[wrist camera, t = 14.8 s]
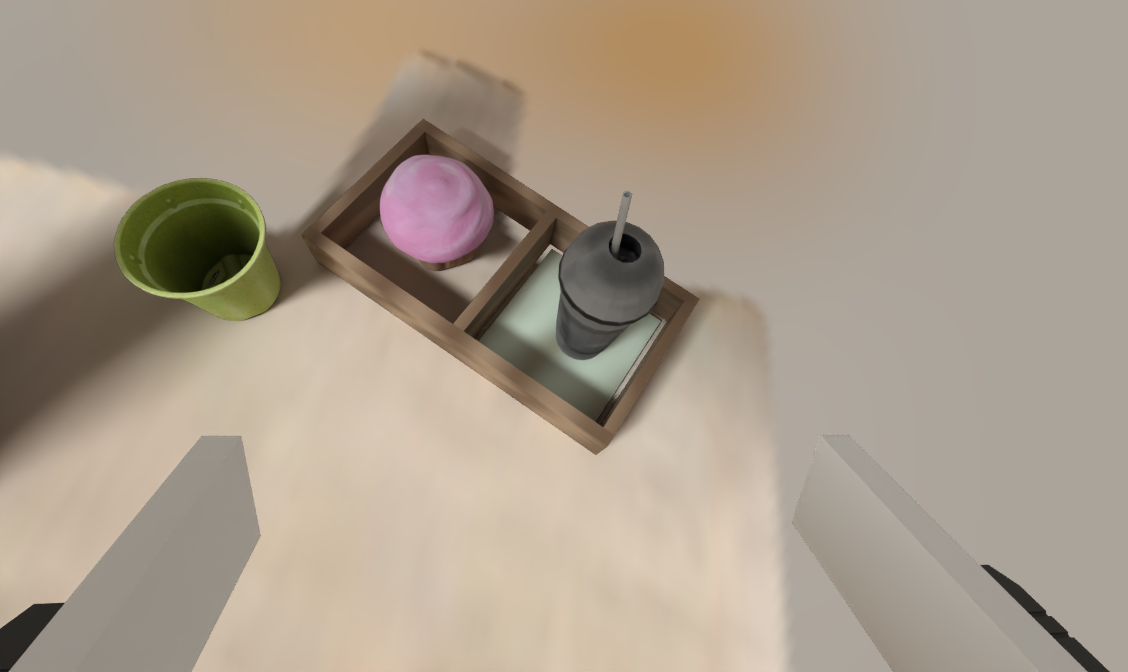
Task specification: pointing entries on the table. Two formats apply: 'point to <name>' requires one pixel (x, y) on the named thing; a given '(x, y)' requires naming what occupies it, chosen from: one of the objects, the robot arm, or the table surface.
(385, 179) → the tray
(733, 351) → the table surface
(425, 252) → the cupcake
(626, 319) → the beverage cup
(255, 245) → the plant pot
